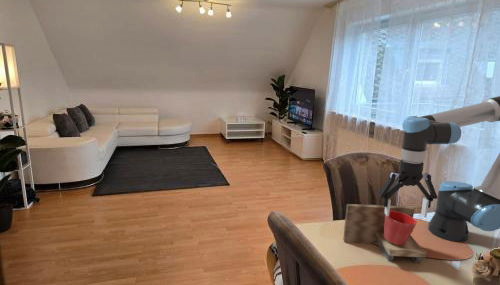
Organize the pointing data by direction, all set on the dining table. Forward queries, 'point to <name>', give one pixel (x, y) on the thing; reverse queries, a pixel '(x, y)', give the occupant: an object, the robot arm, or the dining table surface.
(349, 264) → the dining table surface
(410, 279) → the dining table surface
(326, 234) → the dining table surface
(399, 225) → the flower pot
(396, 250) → the small wooden stand
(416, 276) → the dining table surface
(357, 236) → the wooden board
